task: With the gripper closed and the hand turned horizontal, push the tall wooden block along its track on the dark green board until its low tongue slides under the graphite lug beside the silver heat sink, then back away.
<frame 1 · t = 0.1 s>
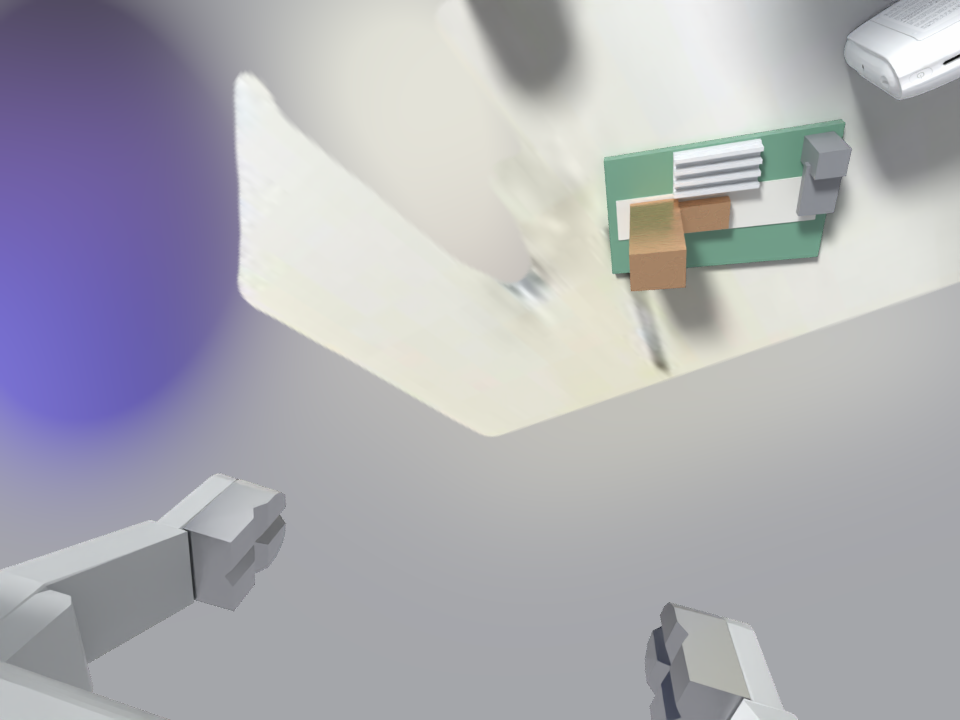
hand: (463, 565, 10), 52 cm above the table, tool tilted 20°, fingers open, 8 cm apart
board: (710, 205, 54), on the table
photo printer: (913, 16, 41), on the table
tall wooden block: (681, 239, 49), point 8 cm above the table, slide at 0.0 cm
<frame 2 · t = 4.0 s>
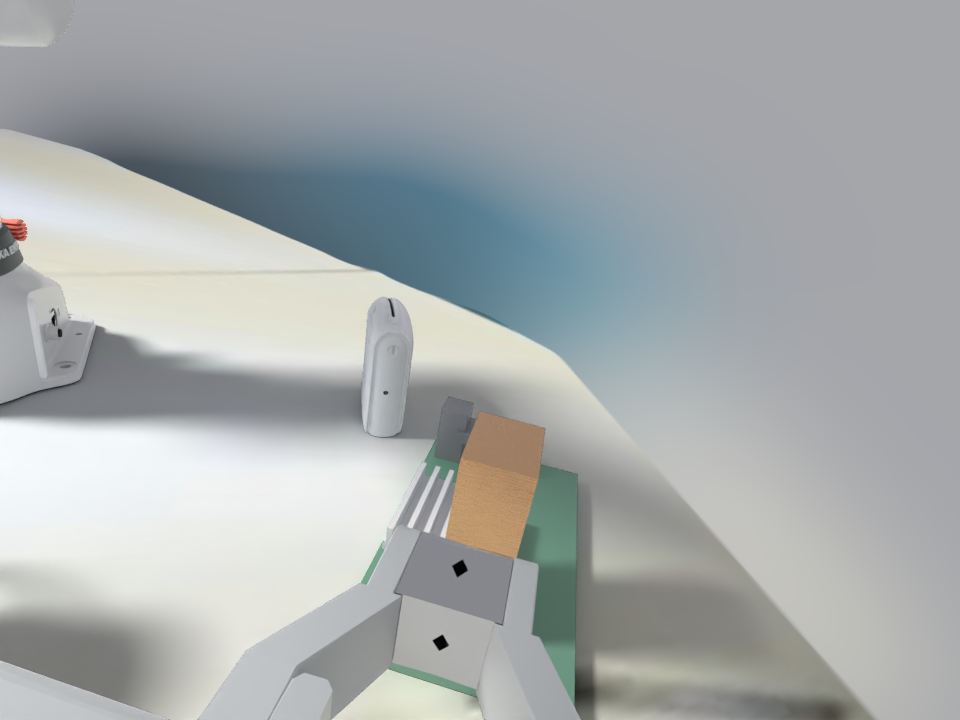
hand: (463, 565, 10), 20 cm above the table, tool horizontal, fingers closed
board: (483, 546, 37), on the table
photo printer: (380, 413, 52), on the table
tall wooden block: (493, 498, 31), point 8 cm above the table, slide at 0.0 cm
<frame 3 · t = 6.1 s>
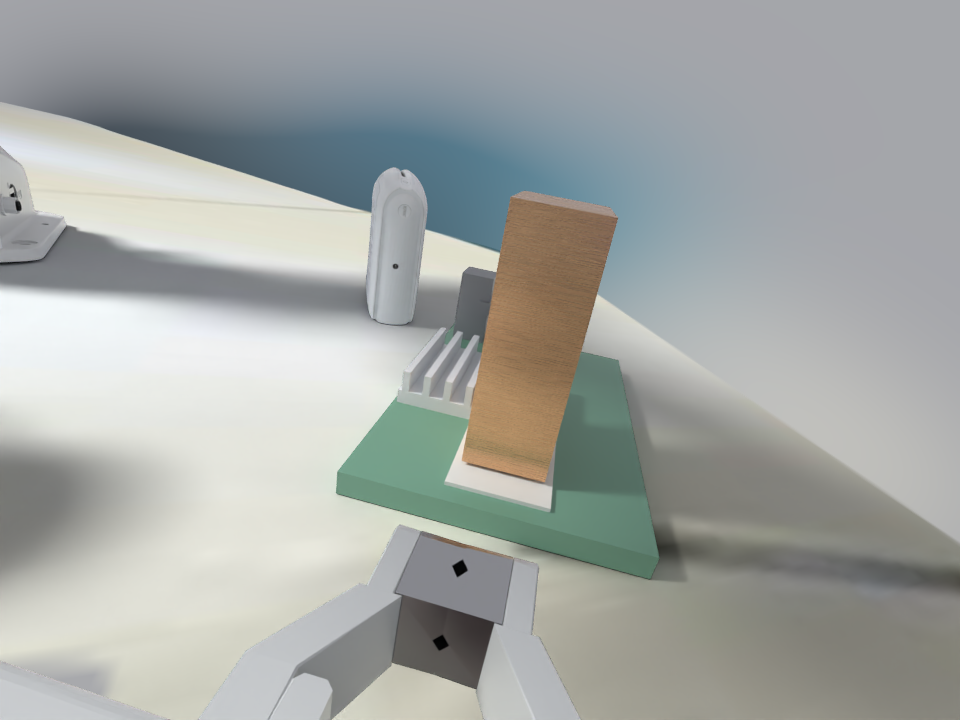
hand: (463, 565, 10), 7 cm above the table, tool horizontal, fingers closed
board: (517, 415, 31), on the table
photo printer: (388, 308, 46), on the table
tall wooden block: (538, 320, 25), point 8 cm above the table, slide at 0.0 cm
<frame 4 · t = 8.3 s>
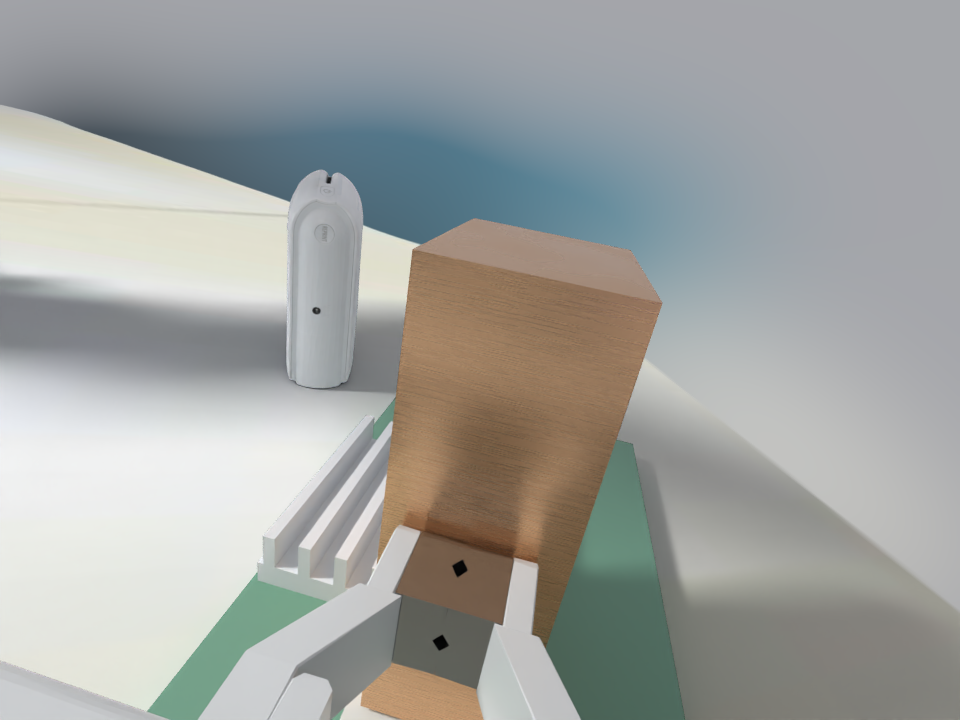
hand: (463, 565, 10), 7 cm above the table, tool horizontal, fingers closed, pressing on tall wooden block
board: (475, 570, 19), on the table
photo printer: (321, 358, 34), on the table
tall wooden block: (505, 434, 15), point 8 cm above the table, slide at 1.7 cm, touching gripper
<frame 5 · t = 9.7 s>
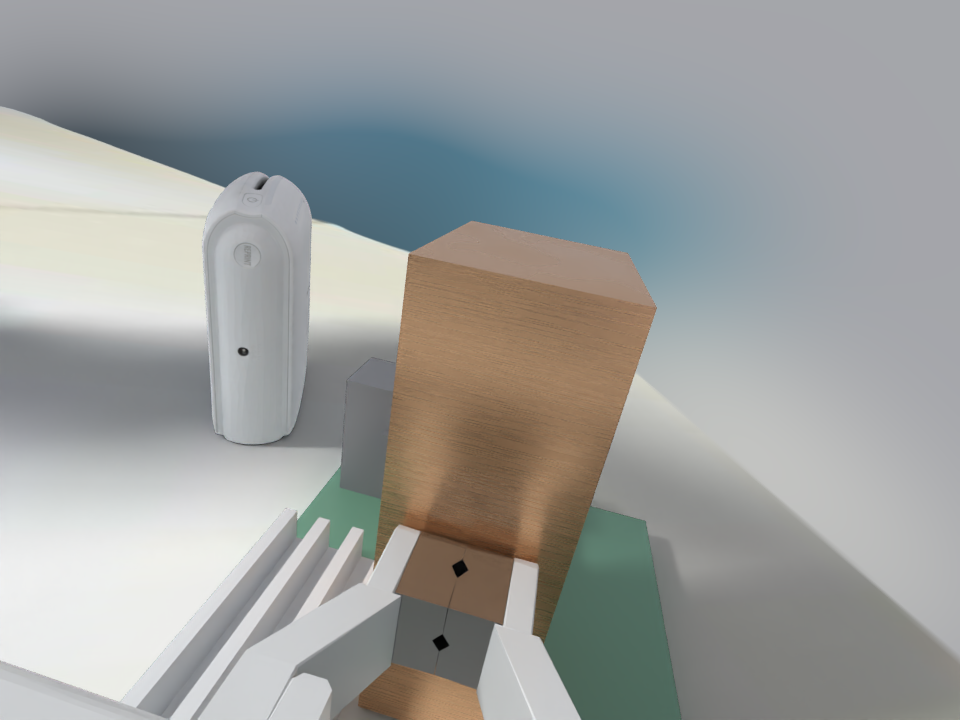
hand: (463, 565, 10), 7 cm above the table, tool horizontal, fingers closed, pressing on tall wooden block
photo printer: (266, 399, 28), on the table
tall wooden block: (503, 435, 15), point 8 cm above the table, slide at 8.3 cm, touching gripper
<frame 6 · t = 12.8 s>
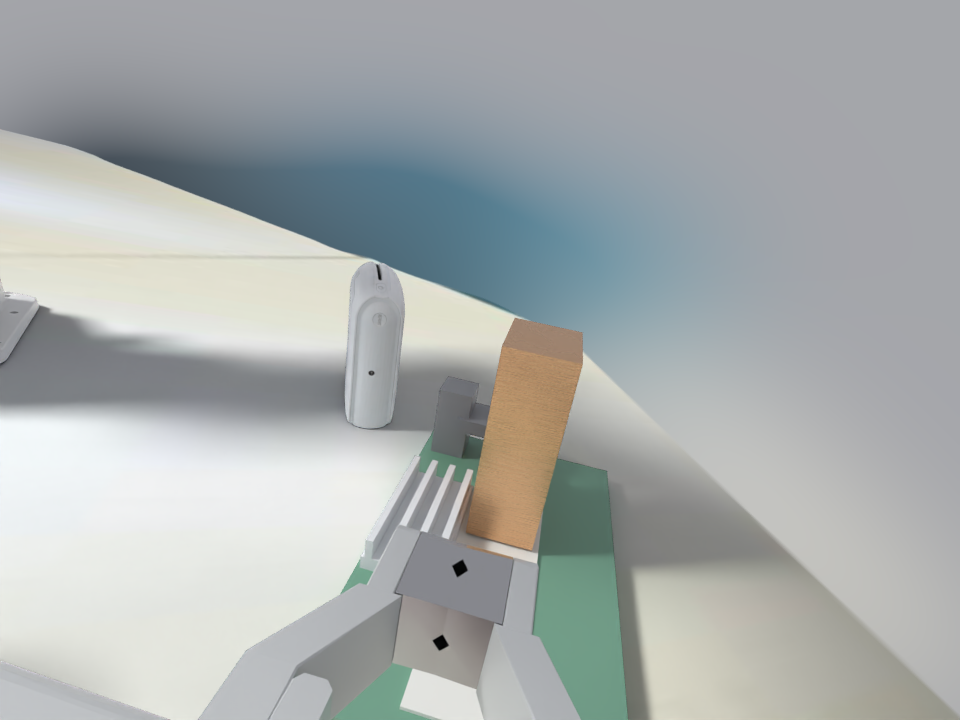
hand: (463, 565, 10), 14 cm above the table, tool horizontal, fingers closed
board: (493, 563, 29), on the table
photo printer: (367, 401, 44), on the table
tall wooden block: (527, 413, 30), point 8 cm above the table, slide at 8.6 cm
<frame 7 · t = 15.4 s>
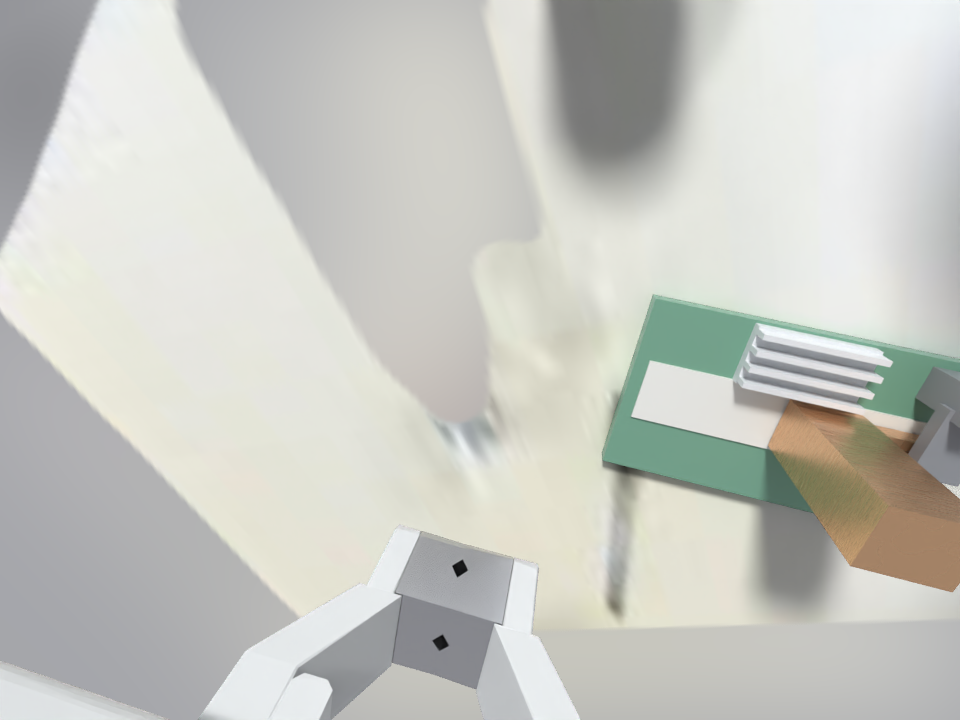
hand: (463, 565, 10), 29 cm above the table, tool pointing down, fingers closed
board: (769, 412, 37), on the table
tall wooden block: (900, 489, 29), point 8 cm above the table, slide at 8.6 cm
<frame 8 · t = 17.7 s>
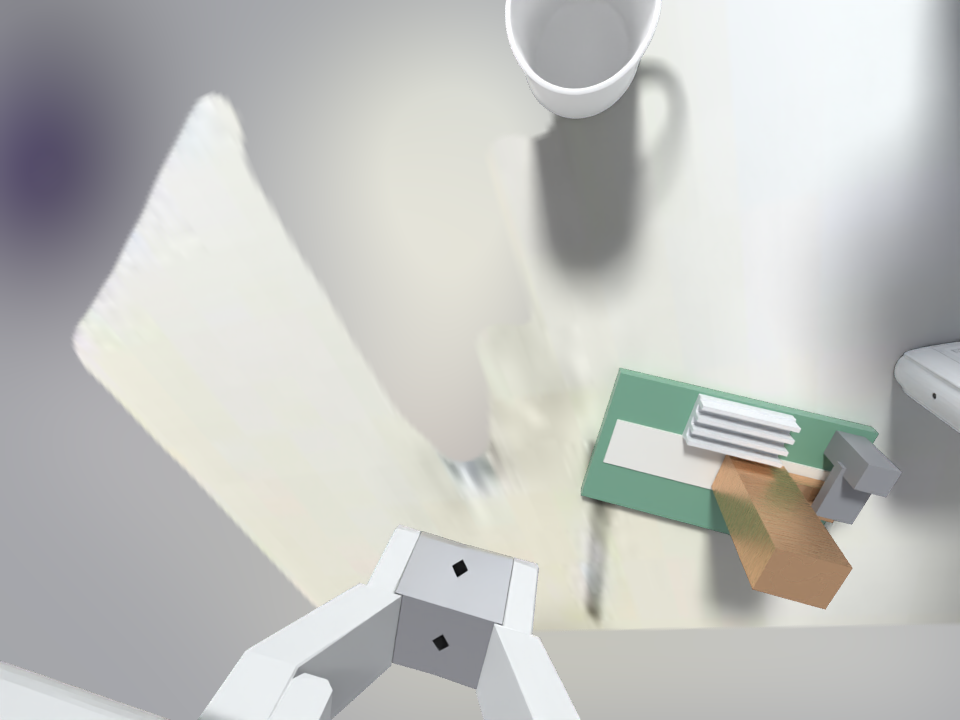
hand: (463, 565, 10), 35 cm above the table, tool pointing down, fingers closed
board: (713, 459, 46), on the table
mug: (602, 44, 36), on the table
tall wooden block: (802, 529, 39), point 8 cm above the table, slide at 8.6 cm
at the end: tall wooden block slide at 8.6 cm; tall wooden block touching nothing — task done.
